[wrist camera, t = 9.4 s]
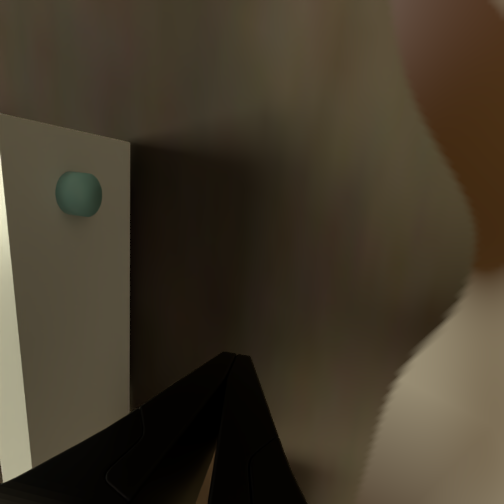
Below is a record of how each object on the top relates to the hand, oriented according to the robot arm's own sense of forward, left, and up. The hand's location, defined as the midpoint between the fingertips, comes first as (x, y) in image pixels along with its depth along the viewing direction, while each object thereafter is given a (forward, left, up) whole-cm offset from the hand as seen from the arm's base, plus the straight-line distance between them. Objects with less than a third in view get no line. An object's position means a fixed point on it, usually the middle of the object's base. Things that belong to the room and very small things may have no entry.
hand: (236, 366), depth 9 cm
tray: (0, +11, -3) cm, 12 cm away
